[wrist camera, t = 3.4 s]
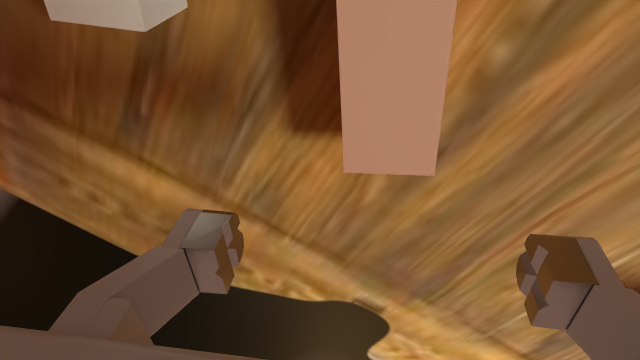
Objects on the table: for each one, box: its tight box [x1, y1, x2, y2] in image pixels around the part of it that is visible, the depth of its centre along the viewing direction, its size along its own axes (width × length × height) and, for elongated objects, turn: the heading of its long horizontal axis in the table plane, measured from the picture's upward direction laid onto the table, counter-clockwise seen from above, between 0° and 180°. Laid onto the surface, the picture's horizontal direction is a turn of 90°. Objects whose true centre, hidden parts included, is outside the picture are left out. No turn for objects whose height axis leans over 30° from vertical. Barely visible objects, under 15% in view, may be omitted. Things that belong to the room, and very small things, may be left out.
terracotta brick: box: [336, 0, 457, 176], centre depth 21 cm, size 5×10×5 cm, turn 4°
